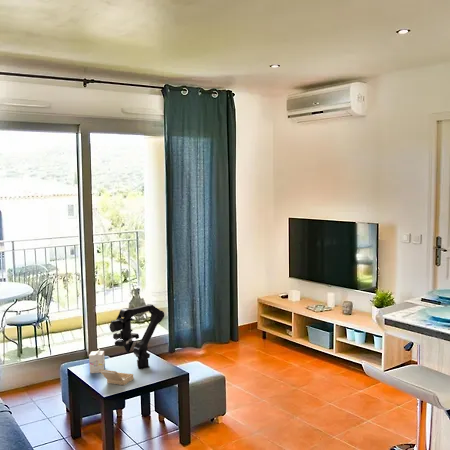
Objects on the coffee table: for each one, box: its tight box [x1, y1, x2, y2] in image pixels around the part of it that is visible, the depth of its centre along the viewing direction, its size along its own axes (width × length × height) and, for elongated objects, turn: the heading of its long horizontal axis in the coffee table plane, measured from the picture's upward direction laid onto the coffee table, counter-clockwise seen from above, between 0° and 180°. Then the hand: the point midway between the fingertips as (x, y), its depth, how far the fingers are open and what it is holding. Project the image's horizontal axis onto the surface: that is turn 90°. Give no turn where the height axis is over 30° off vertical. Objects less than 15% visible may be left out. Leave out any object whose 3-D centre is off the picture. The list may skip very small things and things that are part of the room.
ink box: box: [88, 348, 106, 374], centre depth 321 cm, size 9×8×13 cm
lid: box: [99, 369, 123, 381], centre depth 293 cm, size 10×12×1 cm
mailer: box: [106, 371, 135, 386], centre depth 301 cm, size 10×12×3 cm
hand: (127, 352), depth 315 cm, fingers closed
